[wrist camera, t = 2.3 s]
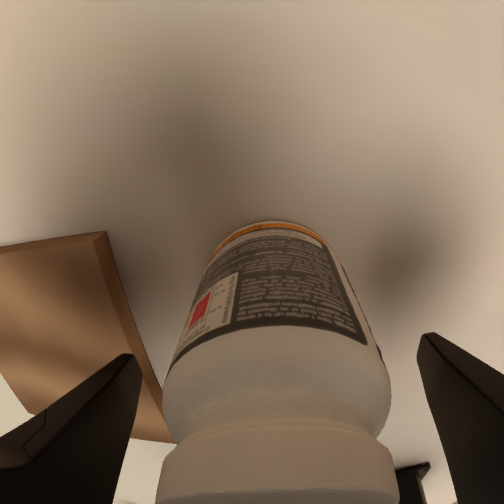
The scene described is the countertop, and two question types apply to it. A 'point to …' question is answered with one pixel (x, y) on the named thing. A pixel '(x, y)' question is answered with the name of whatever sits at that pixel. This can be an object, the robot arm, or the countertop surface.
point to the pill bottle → (276, 381)
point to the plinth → (69, 325)
